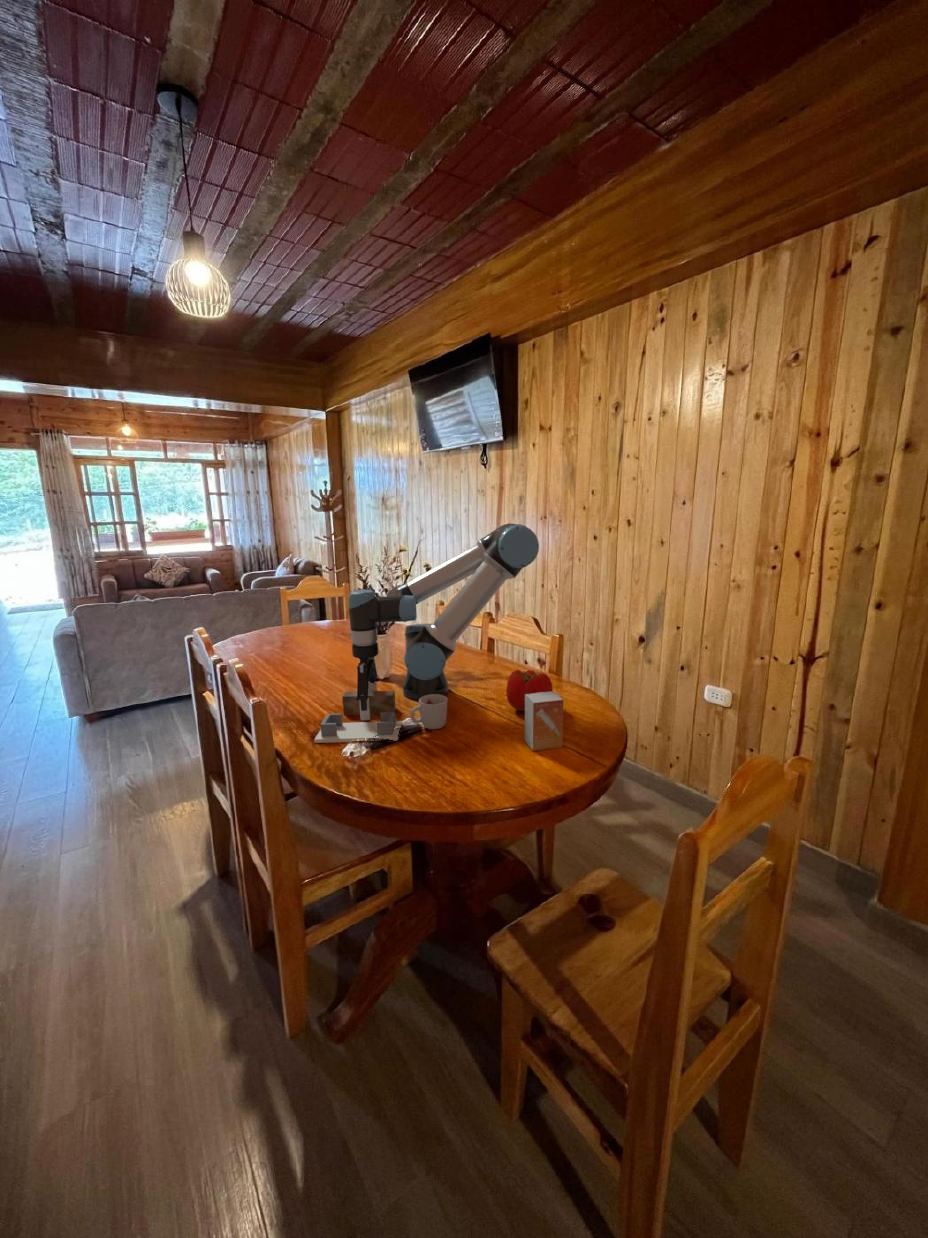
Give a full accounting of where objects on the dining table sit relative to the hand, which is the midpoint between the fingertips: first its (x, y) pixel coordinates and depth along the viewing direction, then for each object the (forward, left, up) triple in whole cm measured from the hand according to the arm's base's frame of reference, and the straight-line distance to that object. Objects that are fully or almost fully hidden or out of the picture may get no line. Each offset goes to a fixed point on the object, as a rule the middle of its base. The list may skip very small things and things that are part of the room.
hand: (369, 710), depth 152 cm
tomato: (-48, +1, 0) cm, 48 cm away
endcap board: (0, +15, 0) cm, 15 cm away
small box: (-49, +24, 0) cm, 55 cm away
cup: (-19, +12, 0) cm, 23 cm away
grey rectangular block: (0, 0, 0) cm, 0 cm away
